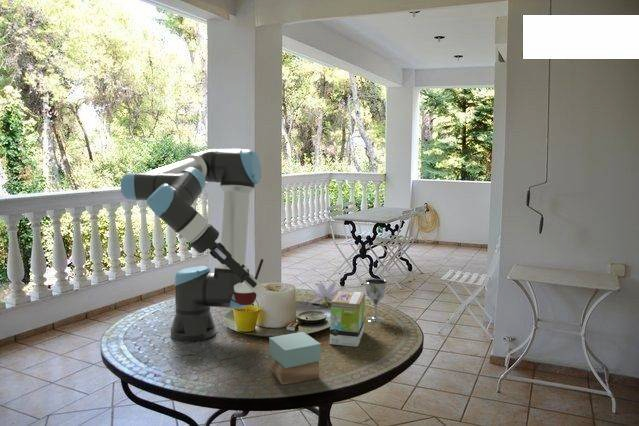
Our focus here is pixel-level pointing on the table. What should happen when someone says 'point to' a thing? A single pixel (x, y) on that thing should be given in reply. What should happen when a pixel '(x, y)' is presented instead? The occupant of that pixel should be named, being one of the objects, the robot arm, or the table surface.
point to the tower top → (294, 349)
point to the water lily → (325, 293)
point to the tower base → (294, 371)
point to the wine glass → (376, 296)
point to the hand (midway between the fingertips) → (260, 289)
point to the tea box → (347, 318)
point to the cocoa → (245, 291)
